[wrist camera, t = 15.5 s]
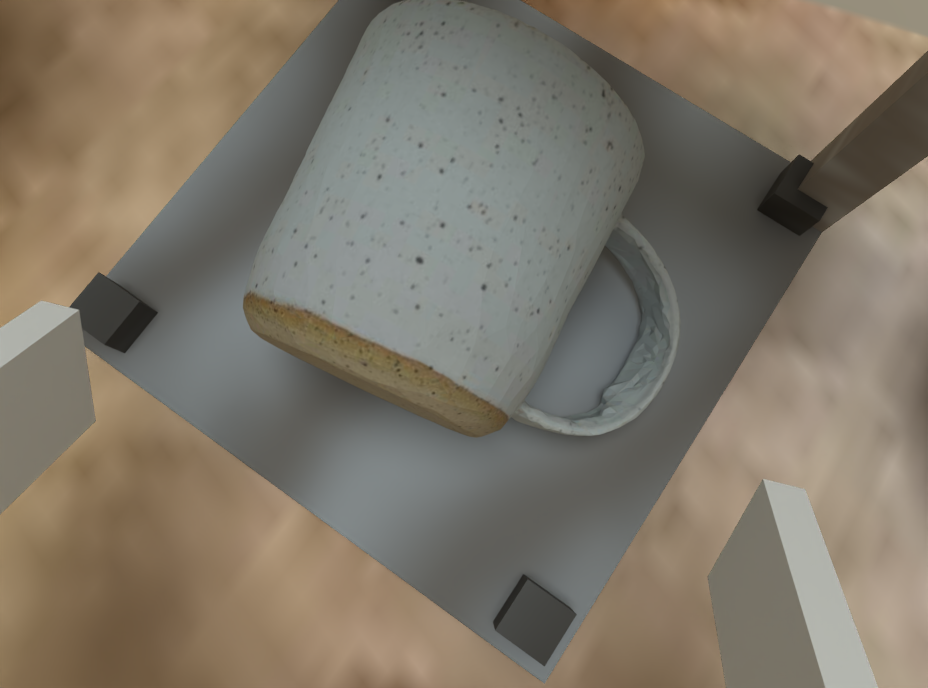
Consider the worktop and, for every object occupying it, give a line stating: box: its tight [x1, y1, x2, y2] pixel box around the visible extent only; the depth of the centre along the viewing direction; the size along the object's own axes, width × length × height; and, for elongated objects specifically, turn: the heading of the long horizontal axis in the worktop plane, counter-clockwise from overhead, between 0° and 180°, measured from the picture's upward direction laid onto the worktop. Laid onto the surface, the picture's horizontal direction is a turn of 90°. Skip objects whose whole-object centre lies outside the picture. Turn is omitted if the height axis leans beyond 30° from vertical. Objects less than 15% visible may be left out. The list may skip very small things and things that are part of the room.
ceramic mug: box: [243, 0, 681, 438], centre depth 17 cm, size 11×8×8 cm
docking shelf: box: [69, 0, 928, 684], centre depth 13 cm, size 17×17×18 cm
